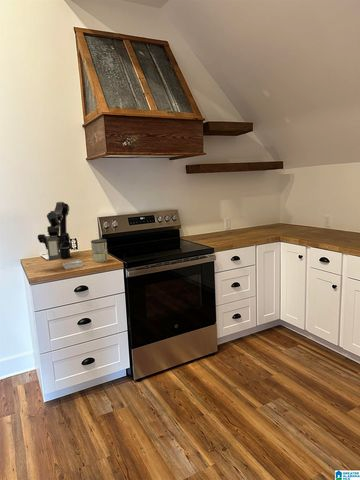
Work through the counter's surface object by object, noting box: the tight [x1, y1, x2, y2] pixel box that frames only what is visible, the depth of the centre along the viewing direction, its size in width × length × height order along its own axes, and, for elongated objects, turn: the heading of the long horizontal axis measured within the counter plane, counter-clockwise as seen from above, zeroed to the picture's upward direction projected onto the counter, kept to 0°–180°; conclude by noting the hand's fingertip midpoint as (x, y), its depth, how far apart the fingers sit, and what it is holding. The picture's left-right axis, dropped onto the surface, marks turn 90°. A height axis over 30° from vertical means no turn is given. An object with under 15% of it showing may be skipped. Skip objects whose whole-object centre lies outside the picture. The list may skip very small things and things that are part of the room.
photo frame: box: [46, 236, 61, 262], centre depth 220 cm, size 4×6×14 cm, turn 109°
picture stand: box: [62, 258, 84, 270], centre depth 228 cm, size 10×11×3 cm
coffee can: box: [90, 238, 109, 263], centre depth 239 cm, size 10×10×14 cm
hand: (52, 248), depth 219 cm, fingers closed on photo frame, 7 cm apart
